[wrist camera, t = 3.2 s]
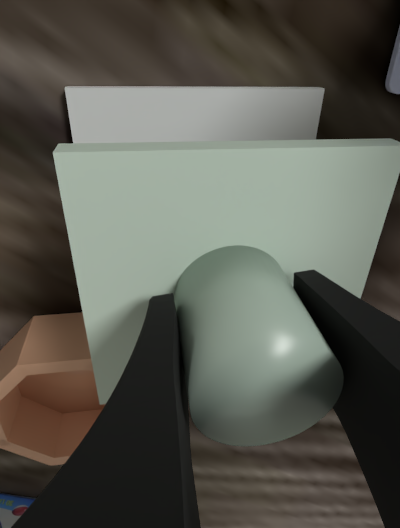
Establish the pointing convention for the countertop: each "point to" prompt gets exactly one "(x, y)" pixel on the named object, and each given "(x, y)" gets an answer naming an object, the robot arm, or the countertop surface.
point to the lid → (225, 264)
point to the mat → (192, 113)
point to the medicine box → (12, 508)
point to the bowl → (47, 389)
